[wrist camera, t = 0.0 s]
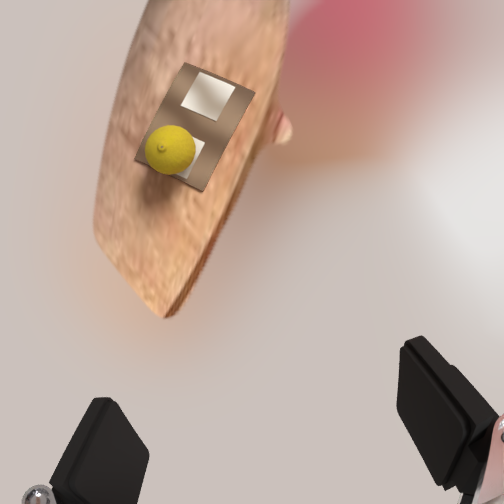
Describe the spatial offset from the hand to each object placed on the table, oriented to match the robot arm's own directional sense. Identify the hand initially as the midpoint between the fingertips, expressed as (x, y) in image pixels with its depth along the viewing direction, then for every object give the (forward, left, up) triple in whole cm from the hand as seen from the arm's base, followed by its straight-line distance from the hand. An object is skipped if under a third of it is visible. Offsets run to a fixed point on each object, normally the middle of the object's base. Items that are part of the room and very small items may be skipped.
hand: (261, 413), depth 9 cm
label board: (-8, -12, -31) cm, 34 cm away
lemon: (-4, -12, -31) cm, 34 cm away
